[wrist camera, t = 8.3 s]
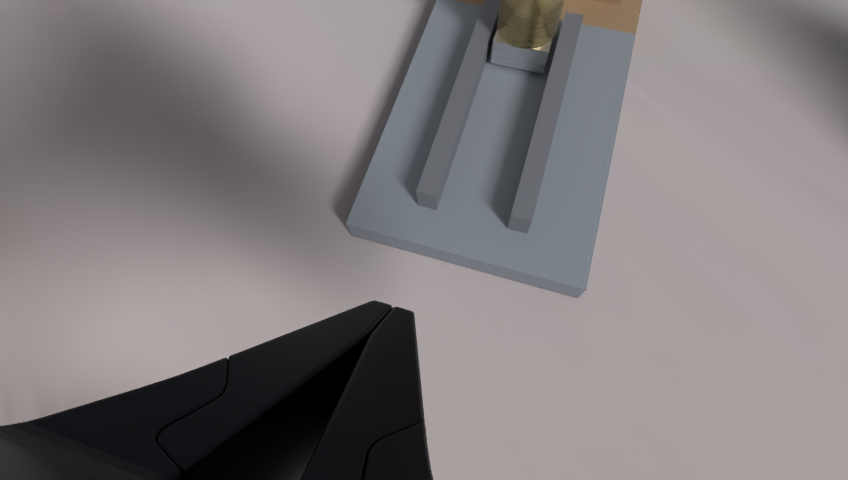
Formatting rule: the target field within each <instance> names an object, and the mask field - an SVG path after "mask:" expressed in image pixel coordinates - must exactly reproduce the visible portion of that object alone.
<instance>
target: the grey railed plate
mask: <svg viewBox="0 0 848 480" xmlns="http://www.w3.org/2000/svg"><path fill="white" fill-rule="evenodd" d="M641 3H642V0H565V1H564V5H563V9H562V13H561V16H560V20H559V24H558V28H557V31H556V34H555V36H554V38H553V40H552V43H551V47H550V51H549V54H548V58H547V62H546V65H545V69H544V73H543V74H542V73H537V72H532V71H527V70H522V69H517V68H512V67H507V66H502V65H497V64H492V63H491V55H492V45H493V40H494V37H495V34H496V31H497V22H498V13H499V4H500V0H436V3H435V5H434V8H433V10H432V13H431V15H430V17H429V20H428V22H427V25H426V27H425V30H424V32H423V35H422V37H421V40H420V42H419V44H418V47H417V49H416V52H415V54H414V57H413V59H412V62H411V64H410V67H409V69H408V71H407V74H406V76H405V79H404V81H403V84H402V86H401V89H400V91H399V94H398V96H397V98H396V101H395V103H394V106H393V108H392V111H391V113H390V116H389V118H388V121H387V123H386V125H385V128H384V130H383V133H382V135H381V138H380V140H379V143H378V145H377V148H376V150H375V153H374V155H373V157H372V160H371V162H370V165H369V167H368V170H367V172H366V175H365V177H364V180H363V182H362V184H361V187H360V189H359V192H358V194H357V197H356V199H355V202H354V204H353V207H352V209H351V211H350V214H349V216H348V219H347V221H346V226H347V228H348V230H349V232H350V234H351V235H352V236H356V237H359V238H363V239H367V240H370V241H374V242H377V243H381V244H385V245H388V246H392V247H395V248H399V249H403V250H406V251H410V252H413V253H417V254H421V255H424V256H428V257H431V258H435V259H439V260H442V261H446V262H449V263H453V264H457V265H460V266H464V267H467V268H471V269H475V270H478V271H482V272H485V273H489V274H493V275H496V276H500V277H503V278H507V279H511V280H514V281H518V282H521V283H525V284H529V285H532V286H536V287H539V288H543V289H547V290H550V291H554V292H557V293H561V294H565V295H568V296H572V297H575V298H578V297H579V296H580V295H581V294H582V293H583V292H584V291H585V290H586V287H587V282H588V277H589V272H590V266H591V261H592V256H593V251H594V246H595V241H596V235H597V230H598V225H599V220H600V215H601V210H602V205H603V199H604V194H605V189H606V184H607V179H608V174H609V168H610V163H611V158H612V153H613V148H614V143H615V138H616V132H617V127H618V122H619V117H620V112H621V107H622V101H623V96H624V91H625V86H626V81H627V76H628V71H629V65H630V60H631V55H632V50H633V45H634V40H635V34H636V29H637V24H638V19H639V14H640V9H641Z"/></svg>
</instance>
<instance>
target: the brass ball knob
mask: <svg viewBox="0 0 848 480" xmlns="http://www.w3.org/2000/svg"><path fill="white" fill-rule="evenodd" d="M564 1H565V0H500V4H499V13H498V22H497V31H496V34H495V37H494V40H493V45H492V55H491V63H492V64H497V65H502V66H507V67H512V68H517V69H522V70H527V71H532V72H537V73H542V74H543V73H544V69H545V65H546V62H547V58H548V54H549V51H550V47H551V43H552V40H553V38H554V36H555V34H556V31H557V28H558V24H559V20H560V16H561V13H562V9H563V5H564Z"/></svg>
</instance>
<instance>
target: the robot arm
mask: <svg viewBox="0 0 848 480" xmlns="http://www.w3.org/2000/svg"><path fill="white" fill-rule="evenodd" d="M424 423H425V421H424V410H423V400H422V390H421V379H420V369H419V359H418V348H417V338H416V328H415V317H414V313H413V312H412V311H410V310H406V309H403V308H399V307H394V308H393V307H392V306H391V305H389V304H385V303H382V302H378V301H370V302H368V303H365V304H363V305H360V306H357V307H355V308H352V309H350V310H347V311H345V312H342V313H339V314H337V315H334V316H332V317H329V318H327V319H324V320H321V321H319V322H316V323H314V324H311V325H309V326H306V327H303V328H301V329H298V330H296V331H293V332H291V333H288V334H285V335H283V336H280V337H278V338H275V339H273V340H270V341H267V342H265V343H262V344H260V345H257V346H255V347H252V348H249V349H247V350H244V351H242V352H239V353H236V354H234V355H231V356H230V357H229V359H227V358H223V359H221V360H218V361H215V362H213V363H210V364H208V365H205V366H202V367H200V368H197V369H194V370H191V371H189V372H186V373H183V374H180V375H178V376H175V377H172V378H169V379H166V380H163V381H160V382H156V383H153V384H150V385H147V386H144V387H141V388H138V389H135V390H131V391H128V392H125V393H122V394H118V395H115V396H112V397H108V398H105V399H102V400H99V401H95V402H92V403H89V404H85V405H82V406H79V407H76V408H72V409H69V410H66V411H62V412H59V413H56V414H53V415H49V416H46V417H42V418H39V419H35V420H31V421H28V422H23V423H17V424H12V425H5V426H0V480H433V476H432V472H431V467H430V460H429V453H428V446H427V438H426V428H425V424H424Z"/></svg>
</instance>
